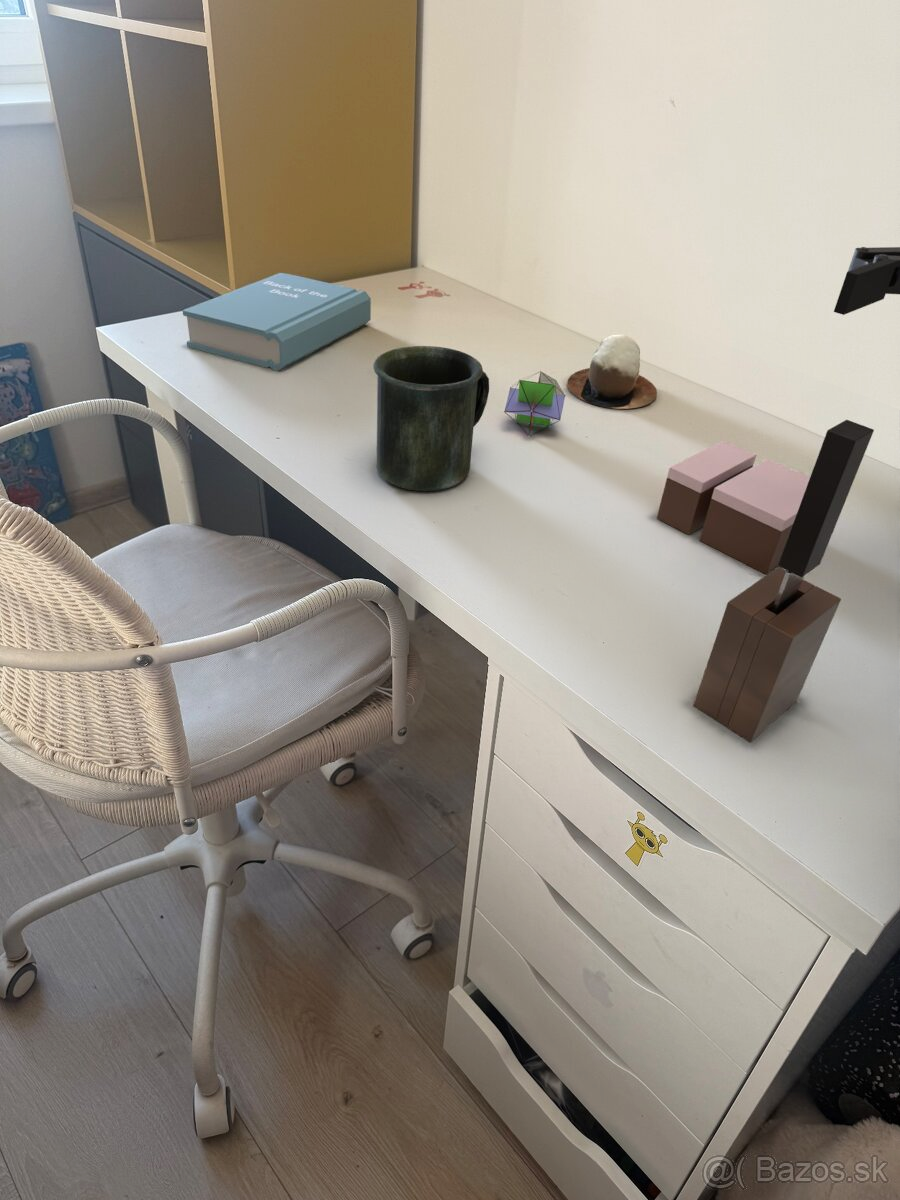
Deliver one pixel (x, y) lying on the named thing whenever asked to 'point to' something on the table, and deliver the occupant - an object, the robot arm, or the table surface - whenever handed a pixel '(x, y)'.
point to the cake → (755, 514)
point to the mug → (427, 415)
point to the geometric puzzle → (536, 401)
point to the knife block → (763, 654)
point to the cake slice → (699, 484)
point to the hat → (614, 376)
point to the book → (276, 319)
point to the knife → (821, 506)
